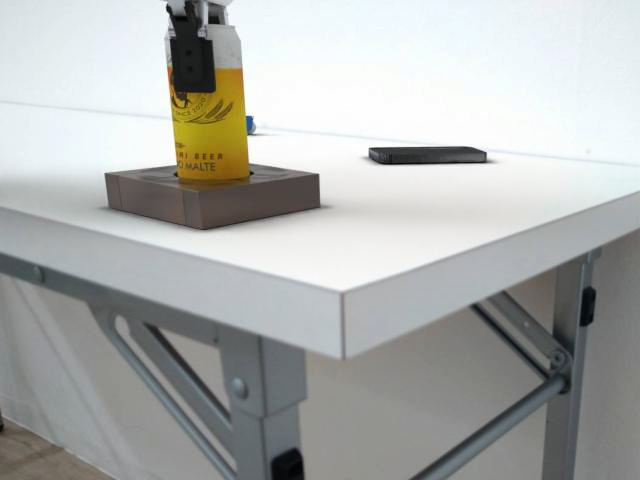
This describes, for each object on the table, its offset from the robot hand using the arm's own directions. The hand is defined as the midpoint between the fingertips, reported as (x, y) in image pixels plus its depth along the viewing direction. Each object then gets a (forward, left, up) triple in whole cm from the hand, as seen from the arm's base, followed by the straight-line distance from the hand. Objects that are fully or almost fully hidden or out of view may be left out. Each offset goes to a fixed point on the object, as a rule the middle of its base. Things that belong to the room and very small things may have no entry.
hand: (206, 88), depth 63 cm
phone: (+20, +35, -10) cm, 42 cm away
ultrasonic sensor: (-11, +62, -10) cm, 64 cm away
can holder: (0, 0, -10) cm, 10 cm away
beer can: (0, 0, -10) cm, 10 cm away
